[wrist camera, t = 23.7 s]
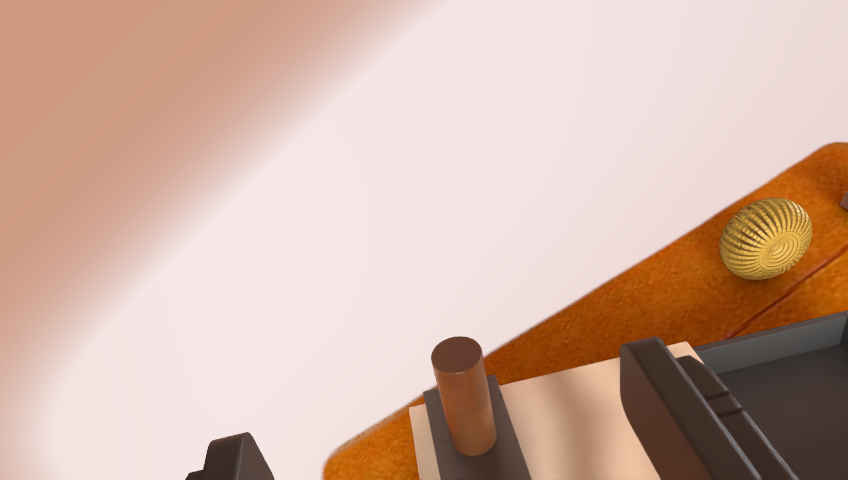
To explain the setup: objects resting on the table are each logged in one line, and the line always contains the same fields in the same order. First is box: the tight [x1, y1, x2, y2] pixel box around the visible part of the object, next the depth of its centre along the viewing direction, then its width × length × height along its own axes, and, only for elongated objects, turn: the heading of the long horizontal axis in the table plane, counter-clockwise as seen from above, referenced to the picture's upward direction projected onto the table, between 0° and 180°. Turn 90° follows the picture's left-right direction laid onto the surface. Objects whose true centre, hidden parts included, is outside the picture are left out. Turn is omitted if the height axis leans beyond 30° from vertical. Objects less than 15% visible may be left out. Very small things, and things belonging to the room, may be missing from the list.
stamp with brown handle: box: [423, 337, 532, 480], centre depth 34 cm, size 5×9×9 cm, turn 9°
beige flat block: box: [409, 341, 705, 480], centre depth 38 cm, size 20×11×6 cm, turn 98°
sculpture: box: [719, 198, 812, 280], centre depth 52 cm, size 8×4×8 cm, turn 101°
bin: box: [692, 310, 848, 480], centre depth 39 cm, size 17×14×3 cm
